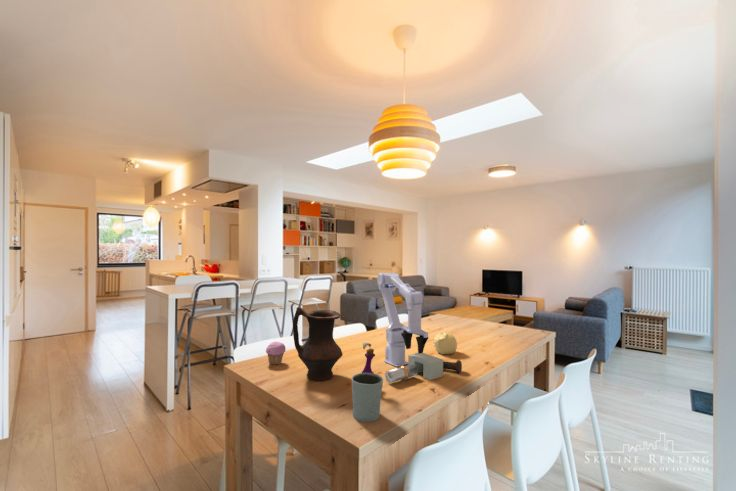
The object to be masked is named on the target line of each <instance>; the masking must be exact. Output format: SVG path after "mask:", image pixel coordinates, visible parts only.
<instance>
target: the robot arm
mask: <svg viewBox="0 0 736 491" xmlns="http://www.w3.org/2000/svg"><path fill="white" fill-rule="evenodd" d="M376 282H377V285H378V290H379V292H381V295H382V299H383V302H384V306H385V312H386V316H387V319H388V323H389V325H388V326H387V327H386V328H385V335H386V336H385V339H386V342H387V344H386V345H385V359H384V360H383V362H385V363H387V364H389V365H392V366H393V367H397V368H399V367H400V366H407V365H408V361H406V350H409V349H411V348H412V339H413V335H417V336H416V337H415V339H416V342H417V343H416V344H417V353H424V349H425V346H426V343H427V341H428V340H429V332H427V331H425V330H423V329H422V305H423V304H424V302H425V296H424V293H423V292H422V291H421V290H419V291H417V290H416V289H415V288H413V287H412V286H411V285H410V284H409V283H404V282H403V281H402V279H401V278H400V274H398V272H379V273H378V275H377V279H376ZM396 289H398V292H399V294H400V295H401V296H402V297H403V298H404V299H405V304H406V308H407V326H406V325H404V324H403V323H401V321H400V317H399V314H398V311H397V306H396V302H395V299H394V295H393V292H395V291H396Z"/></svg>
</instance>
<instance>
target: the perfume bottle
mask: <svg viewBox="0 0 736 491" xmlns="http://www.w3.org/2000/svg"><path fill="white" fill-rule="evenodd" d="M367 346H368V347H369V348H368V349H366V348H367ZM362 347H363V350H365V349H366V353H364V357H365V358H366V360H365V365H364V368H363V370H362V371H361V373H373V374H375V373H374V371H373V369H372V367H371V366H372V362H373V361H372V360H373V359H374V357H375V356H376V354H375V353H374V351H375V349H373V348H371V347H372V344H371V343H368V342H363V343H362Z"/></svg>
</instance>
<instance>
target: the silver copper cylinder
mask: <svg viewBox="0 0 736 491" xmlns="http://www.w3.org/2000/svg"><path fill="white" fill-rule="evenodd" d="M418 373H419V372H418V369H417V367H416V365H414V364H411V365H408V364H407V365H402V366H398V367H397V368H394V369H390V370H387V371H385V373H384V377H385V381H386V382H387V383H389V384H391V383H392V384H393V383H395V382H398V381H406V380H408V379H409V378H412V377H414V376H418Z"/></svg>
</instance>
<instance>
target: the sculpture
mask: <svg viewBox="0 0 736 491" xmlns="http://www.w3.org/2000/svg"><path fill="white" fill-rule="evenodd" d="M433 344H434V345H433V347H434V349H435V351H436V352H437V353H439V354H441V355H450V354H451V355H452V354H454V353H455V352H456V351H457V348H458V342H457V338H456V337H455V336H454V335H452V334H451V333H448V332H446V331H443V332H439V333H437V334H435V335H434V339H433Z"/></svg>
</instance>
